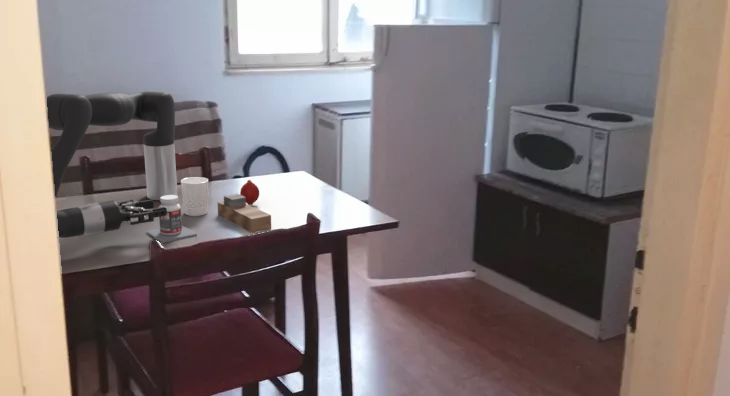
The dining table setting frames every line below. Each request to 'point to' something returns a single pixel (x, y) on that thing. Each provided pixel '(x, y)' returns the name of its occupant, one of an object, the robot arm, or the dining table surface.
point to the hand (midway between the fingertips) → (159, 207)
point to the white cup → (195, 195)
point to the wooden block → (243, 214)
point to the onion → (250, 192)
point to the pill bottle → (170, 215)
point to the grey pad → (166, 238)
